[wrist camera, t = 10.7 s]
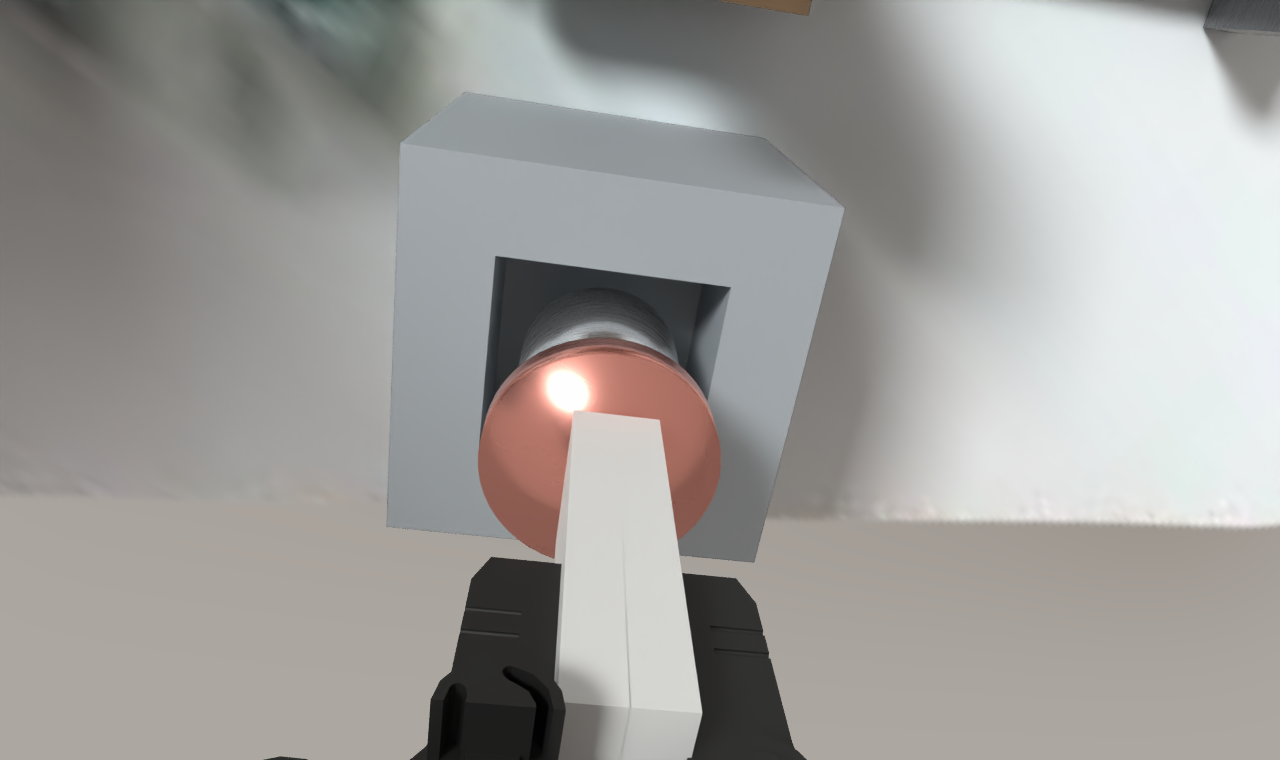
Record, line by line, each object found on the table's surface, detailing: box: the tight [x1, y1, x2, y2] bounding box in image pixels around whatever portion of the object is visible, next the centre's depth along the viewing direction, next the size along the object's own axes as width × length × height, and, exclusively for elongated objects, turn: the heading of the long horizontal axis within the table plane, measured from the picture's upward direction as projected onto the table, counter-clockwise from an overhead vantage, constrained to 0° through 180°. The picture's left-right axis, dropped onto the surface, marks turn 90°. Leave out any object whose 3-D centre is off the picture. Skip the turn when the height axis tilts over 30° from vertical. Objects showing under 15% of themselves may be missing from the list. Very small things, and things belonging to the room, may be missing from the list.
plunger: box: [478, 287, 721, 559], centre depth 17 cm, size 4×4×5 cm
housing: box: [387, 92, 845, 562], centre depth 23 cm, size 9×9×9 cm
